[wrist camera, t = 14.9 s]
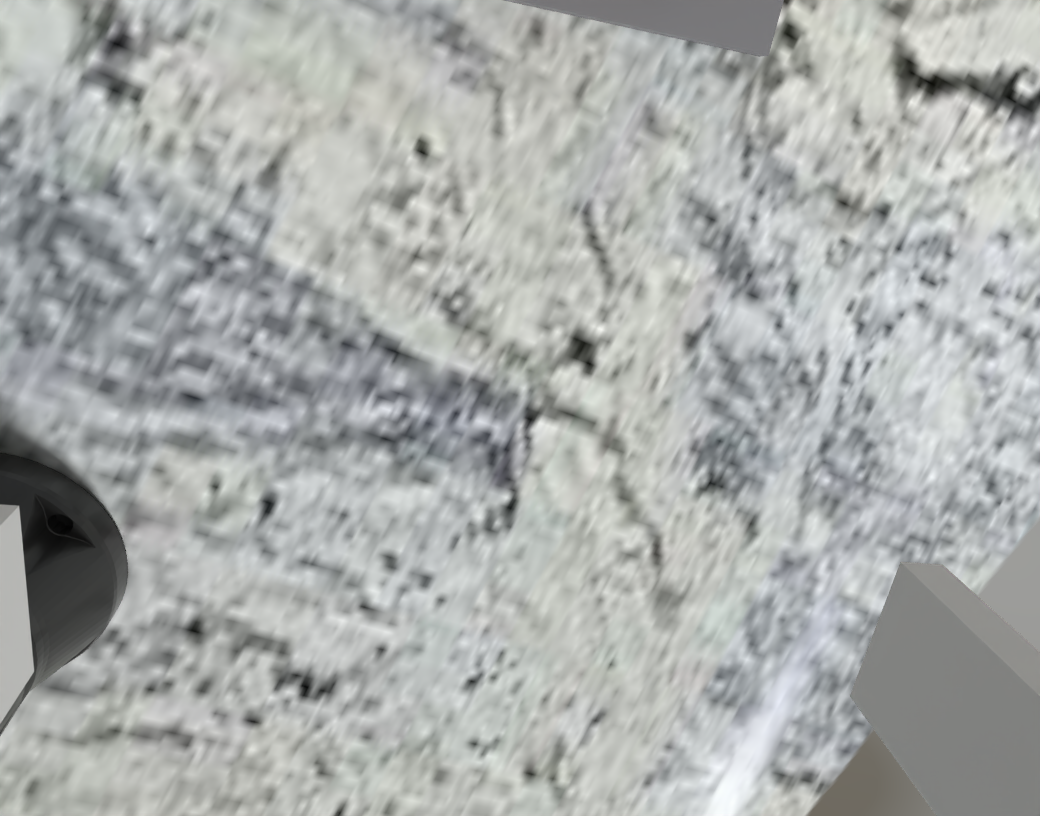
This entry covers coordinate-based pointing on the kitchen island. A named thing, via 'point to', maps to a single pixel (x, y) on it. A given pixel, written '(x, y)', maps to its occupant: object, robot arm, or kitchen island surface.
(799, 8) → the kitchen island surface
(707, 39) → the board
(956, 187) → the kitchen island surface
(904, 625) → the robot arm
